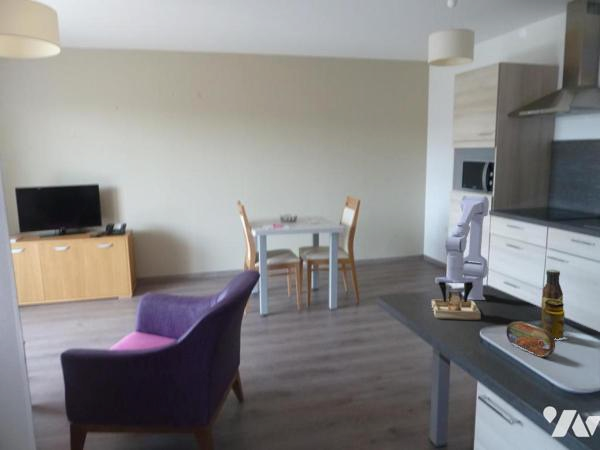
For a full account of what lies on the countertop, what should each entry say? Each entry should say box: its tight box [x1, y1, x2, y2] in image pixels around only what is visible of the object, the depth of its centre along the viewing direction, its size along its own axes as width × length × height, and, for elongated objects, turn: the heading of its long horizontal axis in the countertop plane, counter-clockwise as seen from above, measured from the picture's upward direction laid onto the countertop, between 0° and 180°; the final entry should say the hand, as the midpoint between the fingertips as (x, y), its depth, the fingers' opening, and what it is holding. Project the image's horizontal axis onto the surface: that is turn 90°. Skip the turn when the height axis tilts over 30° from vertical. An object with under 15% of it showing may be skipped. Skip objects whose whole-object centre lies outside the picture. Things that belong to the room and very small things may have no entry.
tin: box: [506, 320, 556, 358], centre depth 131 cm, size 15×3×8 cm, turn 25°
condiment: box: [541, 300, 565, 339], centre depth 140 cm, size 7×8×12 cm
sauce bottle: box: [541, 269, 564, 325], centre depth 149 cm, size 6×6×20 cm
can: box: [447, 289, 463, 311], centre depth 165 cm, size 5×5×8 cm
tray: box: [430, 298, 482, 321], centre depth 165 cm, size 14×16×3 cm
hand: (454, 301), depth 165 cm, fingers open, 7 cm apart
